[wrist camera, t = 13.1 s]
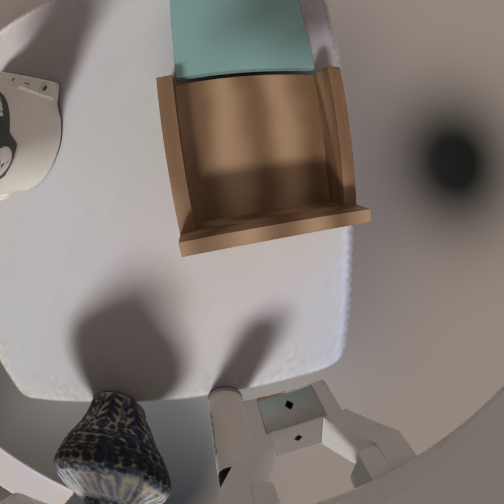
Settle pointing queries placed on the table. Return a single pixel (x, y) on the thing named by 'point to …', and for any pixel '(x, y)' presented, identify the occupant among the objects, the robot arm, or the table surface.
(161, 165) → the table surface
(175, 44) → the teal flat panel
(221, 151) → the wooden drawer
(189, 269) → the table surface
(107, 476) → the blue patterned vase
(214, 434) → the travel mug
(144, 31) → the table surface
